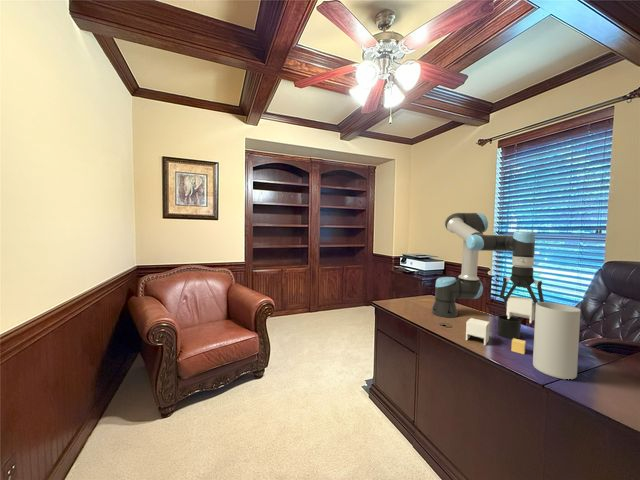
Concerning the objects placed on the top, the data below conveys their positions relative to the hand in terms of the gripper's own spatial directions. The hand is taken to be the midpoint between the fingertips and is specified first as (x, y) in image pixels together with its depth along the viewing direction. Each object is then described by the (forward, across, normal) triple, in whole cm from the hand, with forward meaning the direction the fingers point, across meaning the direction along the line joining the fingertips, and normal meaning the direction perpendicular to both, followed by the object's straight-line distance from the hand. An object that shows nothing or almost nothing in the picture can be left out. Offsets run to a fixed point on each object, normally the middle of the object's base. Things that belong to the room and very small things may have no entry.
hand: (520, 317), depth 116 cm
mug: (+15, -5, +19) cm, 25 cm away
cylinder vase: (+15, +12, -12) cm, 23 cm away
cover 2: (+1, 0, 0) cm, 1 cm away
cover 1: (+15, -16, 0) cm, 22 cm away
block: (+15, 0, 0) cm, 15 cm away
